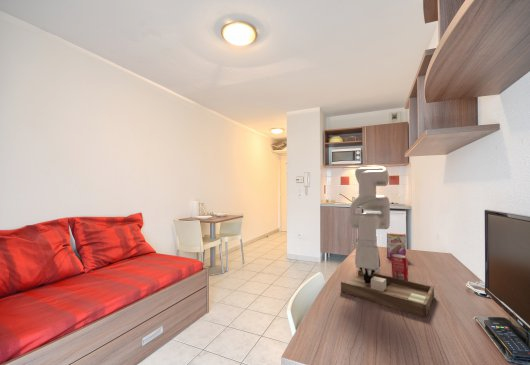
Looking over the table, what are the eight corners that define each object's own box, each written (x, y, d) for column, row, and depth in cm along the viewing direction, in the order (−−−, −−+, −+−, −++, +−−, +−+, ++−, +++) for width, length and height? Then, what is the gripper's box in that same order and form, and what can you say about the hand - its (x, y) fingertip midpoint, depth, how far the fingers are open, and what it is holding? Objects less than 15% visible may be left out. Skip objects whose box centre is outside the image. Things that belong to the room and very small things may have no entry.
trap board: (358, 278, 124) (358, 269, 124) (434, 296, 103) (433, 286, 103) (340, 292, 108) (340, 282, 108) (426, 317, 87) (425, 305, 87)
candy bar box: (387, 257, 162) (386, 233, 163) (386, 255, 167) (386, 232, 167) (406, 259, 158) (405, 234, 158) (405, 257, 162) (404, 233, 163)
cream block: (374, 284, 111) (374, 276, 111) (386, 287, 107) (386, 278, 107) (370, 288, 107) (370, 279, 107) (382, 291, 104) (382, 282, 104)
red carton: (410, 285, 115) (410, 258, 116) (394, 284, 117) (394, 257, 117) (405, 279, 122) (404, 254, 123) (389, 278, 124) (389, 253, 124)
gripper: (348, 241, 113) (348, 281, 113) (382, 246, 103) (382, 290, 103) (354, 239, 119) (354, 276, 118) (387, 243, 109) (387, 284, 108)
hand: (367, 282), depth 110 cm, fingers closed
